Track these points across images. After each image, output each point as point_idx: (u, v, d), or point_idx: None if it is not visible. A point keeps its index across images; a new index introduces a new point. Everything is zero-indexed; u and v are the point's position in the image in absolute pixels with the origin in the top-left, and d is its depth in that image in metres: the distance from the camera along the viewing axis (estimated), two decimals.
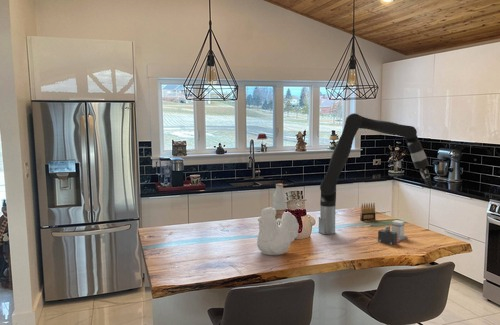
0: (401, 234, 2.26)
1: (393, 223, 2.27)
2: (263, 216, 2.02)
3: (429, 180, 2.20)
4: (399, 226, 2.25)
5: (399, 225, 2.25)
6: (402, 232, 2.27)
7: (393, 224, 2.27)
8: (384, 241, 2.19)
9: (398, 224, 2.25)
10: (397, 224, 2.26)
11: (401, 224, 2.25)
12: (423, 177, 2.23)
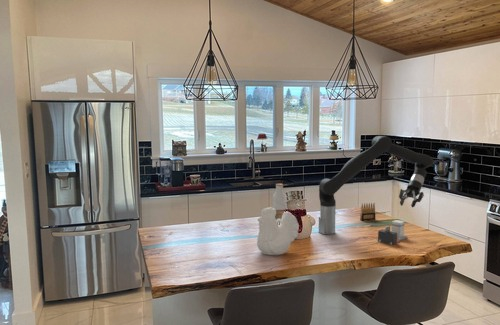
0: (401, 234, 2.26)
1: (393, 223, 2.27)
2: (263, 216, 2.02)
3: (416, 201, 2.33)
4: (399, 226, 2.25)
5: (399, 225, 2.25)
6: (402, 232, 2.27)
7: (393, 224, 2.27)
8: (384, 241, 2.19)
9: (398, 224, 2.25)
10: (397, 224, 2.26)
11: (401, 224, 2.25)
12: (414, 195, 2.34)
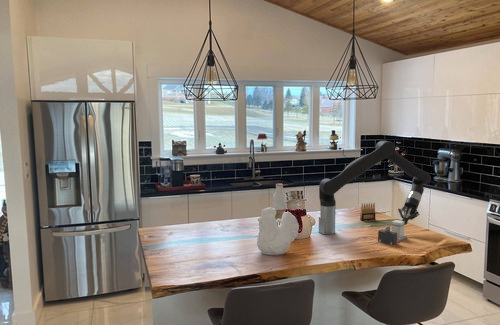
0: (401, 234, 2.26)
1: (393, 223, 2.27)
2: (263, 216, 2.02)
3: (408, 219, 2.34)
4: (399, 226, 2.25)
5: (399, 225, 2.25)
6: (402, 232, 2.27)
7: (393, 224, 2.27)
8: (384, 241, 2.19)
9: (398, 224, 2.25)
10: (397, 224, 2.26)
11: (401, 224, 2.25)
12: (408, 213, 2.34)
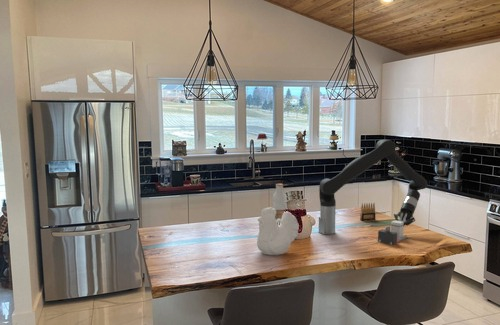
0: (400, 234, 2.25)
1: (392, 223, 2.27)
2: (263, 216, 2.02)
3: (404, 225, 2.31)
4: (398, 226, 2.24)
5: (398, 225, 2.24)
6: (401, 232, 2.26)
7: (392, 225, 2.27)
8: (384, 241, 2.19)
9: (397, 224, 2.24)
10: (396, 224, 2.25)
11: (400, 224, 2.24)
12: (403, 219, 2.31)
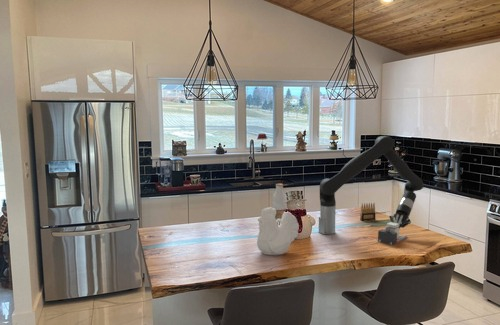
0: None
1: (387, 225, 2.22)
2: (263, 216, 2.02)
3: None
4: (394, 228, 2.20)
5: (393, 227, 2.20)
6: (397, 235, 2.22)
7: None
8: (384, 241, 2.19)
9: (392, 226, 2.20)
10: (391, 226, 2.21)
11: (396, 226, 2.20)
12: (399, 221, 2.27)
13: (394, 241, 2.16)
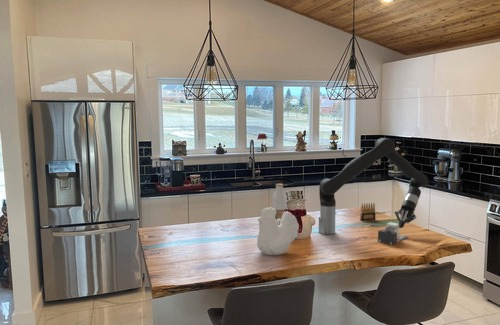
0: None
1: (387, 225, 2.22)
2: (263, 216, 2.02)
3: (405, 222, 2.30)
4: (393, 228, 2.20)
5: (393, 227, 2.20)
6: (397, 235, 2.22)
7: None
8: (384, 241, 2.19)
9: (392, 226, 2.20)
10: (391, 226, 2.21)
11: (395, 226, 2.20)
12: (404, 216, 2.31)
13: (394, 241, 2.16)
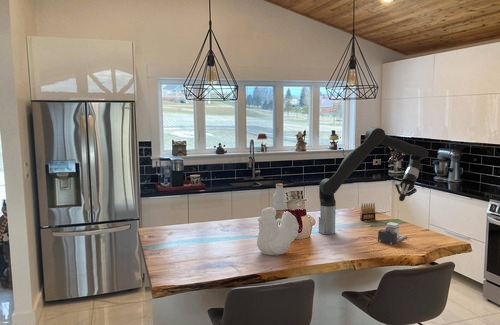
0: None
1: (387, 225, 2.22)
2: (263, 216, 2.02)
3: (406, 195, 2.34)
4: (393, 228, 2.20)
5: (393, 227, 2.20)
6: (397, 235, 2.22)
7: None
8: (384, 241, 2.19)
9: (392, 226, 2.20)
10: (391, 226, 2.21)
11: (395, 226, 2.20)
12: (405, 190, 2.33)
13: (394, 241, 2.16)
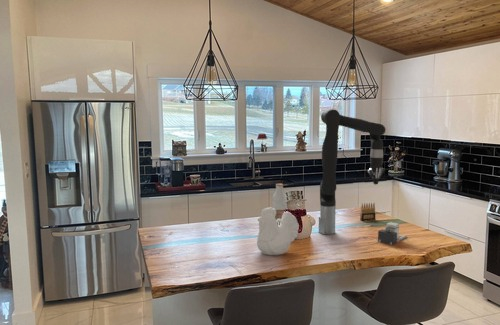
0: None
1: (387, 225, 2.22)
2: (263, 216, 2.02)
3: None
4: (393, 228, 2.20)
5: (393, 227, 2.20)
6: (397, 235, 2.22)
7: None
8: (384, 241, 2.19)
9: (392, 226, 2.20)
10: (391, 226, 2.21)
11: (395, 226, 2.20)
12: (379, 173, 2.44)
13: (394, 241, 2.16)
